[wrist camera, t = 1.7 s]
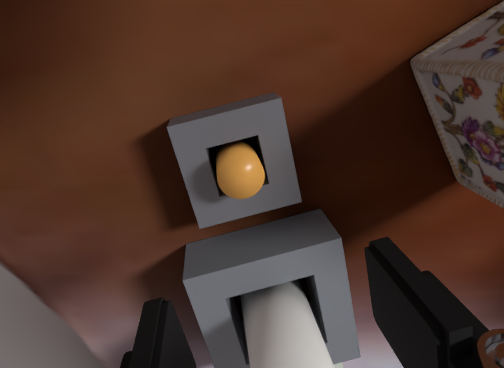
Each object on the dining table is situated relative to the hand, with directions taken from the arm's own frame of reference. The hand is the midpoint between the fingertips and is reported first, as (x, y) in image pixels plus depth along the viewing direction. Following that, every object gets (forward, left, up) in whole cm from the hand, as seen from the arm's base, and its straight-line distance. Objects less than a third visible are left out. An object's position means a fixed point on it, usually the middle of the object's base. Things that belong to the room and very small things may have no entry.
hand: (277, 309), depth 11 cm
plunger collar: (0, 0, -18) cm, 18 cm away
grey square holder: (+12, 0, -18) cm, 21 cm away
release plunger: (0, 0, -16) cm, 16 cm away
